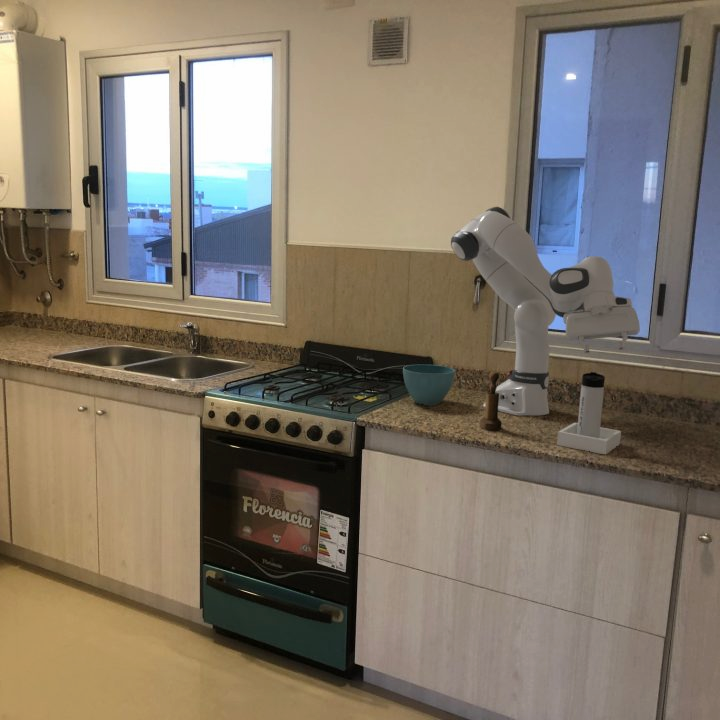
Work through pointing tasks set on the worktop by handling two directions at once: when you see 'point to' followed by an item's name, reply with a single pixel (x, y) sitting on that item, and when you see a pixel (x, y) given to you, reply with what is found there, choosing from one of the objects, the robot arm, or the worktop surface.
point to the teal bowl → (428, 382)
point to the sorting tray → (589, 439)
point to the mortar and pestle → (491, 406)
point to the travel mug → (591, 404)
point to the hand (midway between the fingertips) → (604, 350)
